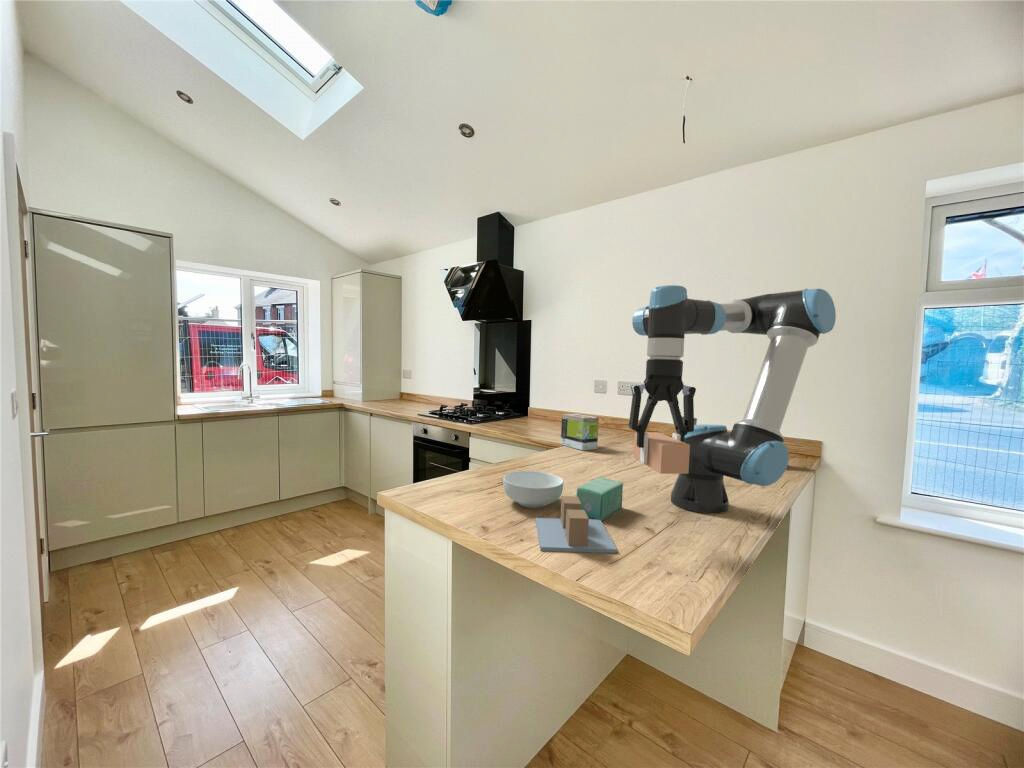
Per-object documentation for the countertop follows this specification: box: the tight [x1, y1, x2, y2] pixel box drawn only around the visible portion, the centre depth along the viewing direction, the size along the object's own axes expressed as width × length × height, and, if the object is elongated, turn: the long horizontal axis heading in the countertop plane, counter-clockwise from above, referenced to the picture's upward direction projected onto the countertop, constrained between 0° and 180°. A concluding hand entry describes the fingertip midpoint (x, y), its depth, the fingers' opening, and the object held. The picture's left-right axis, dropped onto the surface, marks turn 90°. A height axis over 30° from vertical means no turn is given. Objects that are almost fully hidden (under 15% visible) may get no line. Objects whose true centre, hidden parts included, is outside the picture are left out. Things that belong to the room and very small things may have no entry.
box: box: [576, 476, 624, 522], centre depth 112 cm, size 7×14×8 cm, turn 142°
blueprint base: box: [535, 495, 618, 554], centre depth 95 cm, size 16×16×7 cm
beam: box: [633, 431, 690, 475], centre depth 92 cm, size 6×14×6 cm, turn 6°
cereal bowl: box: [502, 470, 564, 509], centre depth 116 cm, size 17×17×7 cm
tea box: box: [560, 413, 600, 451], centre depth 194 cm, size 15×10×15 cm
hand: (659, 462), depth 93 cm, fingers closed on beam, 6 cm apart
